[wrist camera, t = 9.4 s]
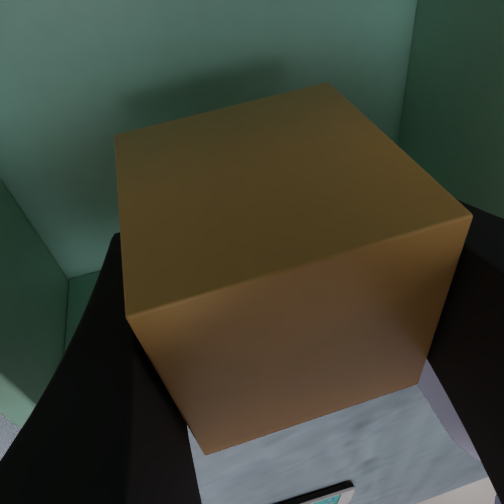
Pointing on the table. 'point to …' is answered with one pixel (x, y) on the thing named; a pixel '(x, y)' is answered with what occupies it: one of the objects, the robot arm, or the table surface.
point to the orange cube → (281, 261)
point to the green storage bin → (199, 101)
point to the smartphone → (328, 496)
